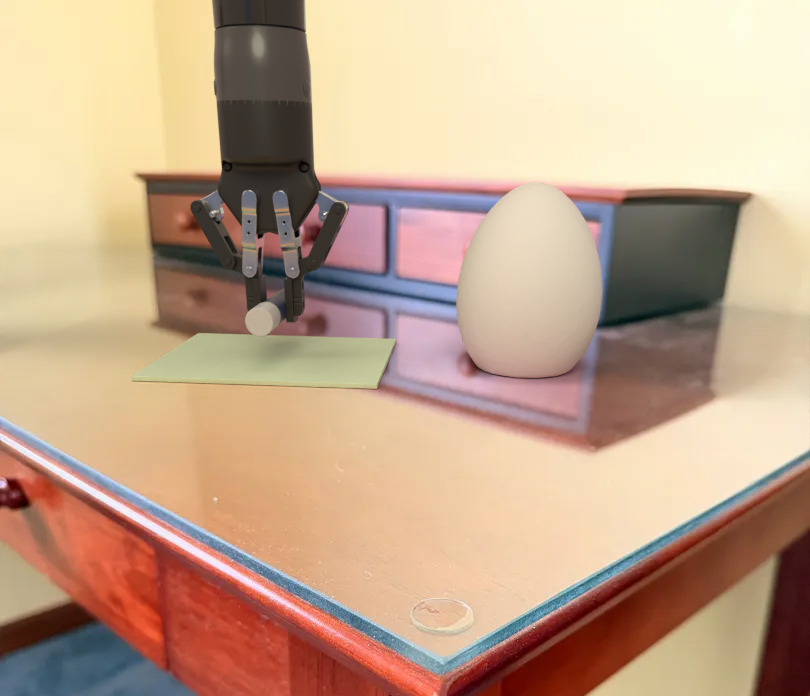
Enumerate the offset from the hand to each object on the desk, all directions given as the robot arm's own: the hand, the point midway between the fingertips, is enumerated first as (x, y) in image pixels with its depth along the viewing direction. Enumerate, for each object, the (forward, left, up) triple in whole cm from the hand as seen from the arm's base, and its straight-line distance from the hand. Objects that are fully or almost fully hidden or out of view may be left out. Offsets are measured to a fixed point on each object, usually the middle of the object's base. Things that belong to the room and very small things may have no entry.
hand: (276, 319), depth 72 cm
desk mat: (0, 0, -4) cm, 4 cm away
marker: (0, 0, 0) cm, 0 cm away
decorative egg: (+22, 0, -4) cm, 22 cm away
